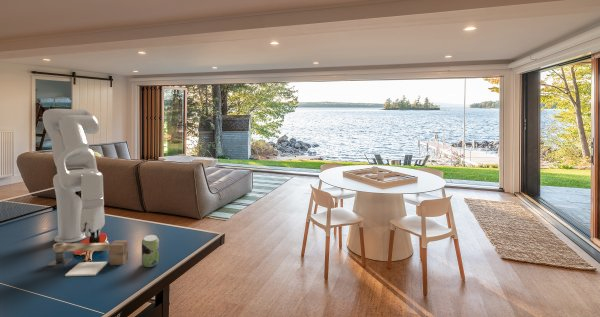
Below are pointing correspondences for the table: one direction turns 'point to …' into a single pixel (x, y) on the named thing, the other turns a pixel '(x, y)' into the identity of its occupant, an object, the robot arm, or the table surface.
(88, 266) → the tile
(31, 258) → the table surface
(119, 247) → the walnut block
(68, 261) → the pivot plate
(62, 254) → the swing arm
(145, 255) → the beverage can
